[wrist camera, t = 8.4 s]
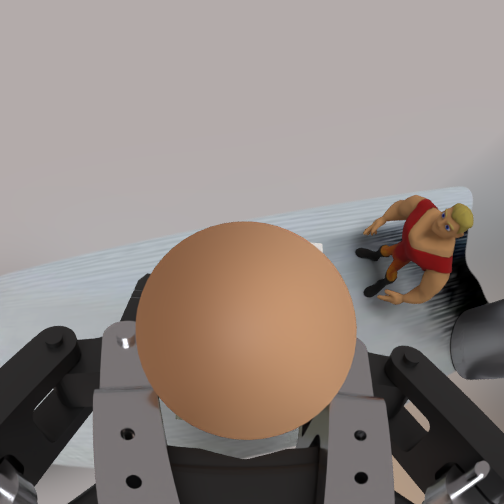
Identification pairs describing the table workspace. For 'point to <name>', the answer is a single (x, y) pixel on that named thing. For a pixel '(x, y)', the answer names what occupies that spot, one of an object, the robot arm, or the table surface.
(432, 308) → the table surface
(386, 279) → the action figure
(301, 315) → the dowel
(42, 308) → the table surface
